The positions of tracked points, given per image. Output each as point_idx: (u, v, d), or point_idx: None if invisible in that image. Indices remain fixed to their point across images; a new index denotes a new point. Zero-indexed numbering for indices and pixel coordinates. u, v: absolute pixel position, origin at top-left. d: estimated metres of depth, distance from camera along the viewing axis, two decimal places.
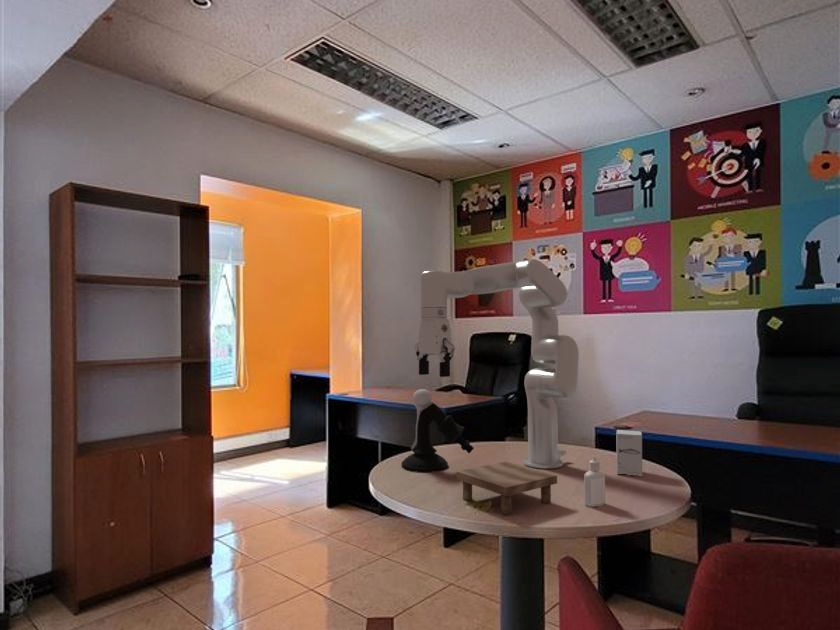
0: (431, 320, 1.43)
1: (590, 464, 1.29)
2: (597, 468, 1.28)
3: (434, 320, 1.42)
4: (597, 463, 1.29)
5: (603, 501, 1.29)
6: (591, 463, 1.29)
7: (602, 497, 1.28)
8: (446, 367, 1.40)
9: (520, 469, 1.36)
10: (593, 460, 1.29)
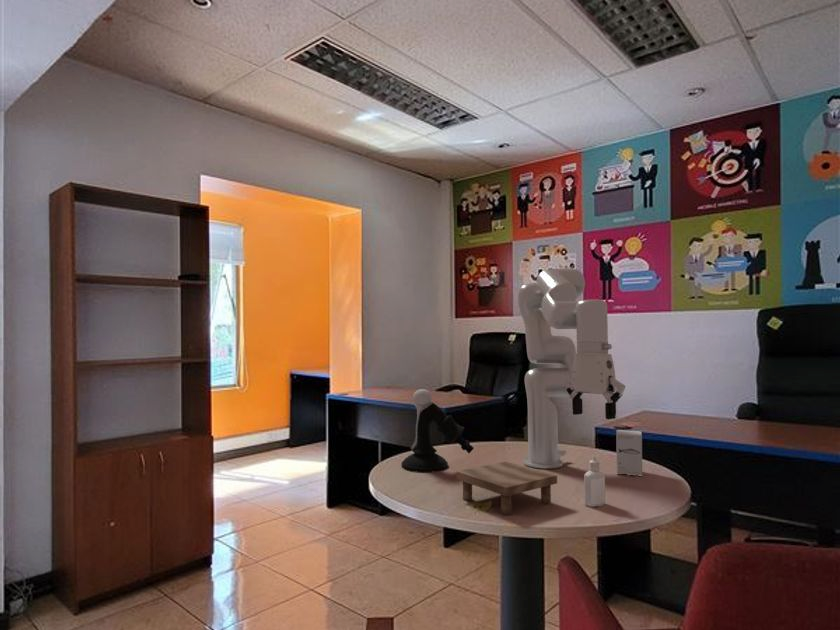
0: (593, 355, 1.28)
1: (590, 464, 1.29)
2: (597, 468, 1.28)
3: (597, 355, 1.27)
4: (597, 463, 1.29)
5: (603, 501, 1.29)
6: (591, 463, 1.29)
7: (602, 497, 1.28)
8: (613, 408, 1.25)
9: (520, 469, 1.36)
10: (593, 460, 1.29)
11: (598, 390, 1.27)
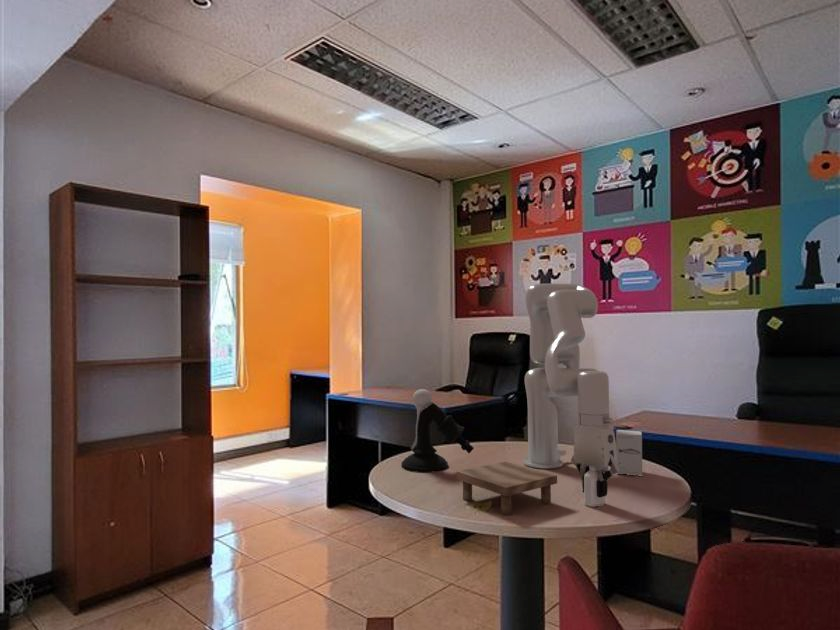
0: (594, 429, 1.27)
1: None
2: None
3: (599, 429, 1.26)
4: None
5: (603, 501, 1.29)
6: None
7: (602, 497, 1.28)
8: (604, 486, 1.27)
9: (520, 469, 1.36)
10: None
11: (599, 465, 1.26)
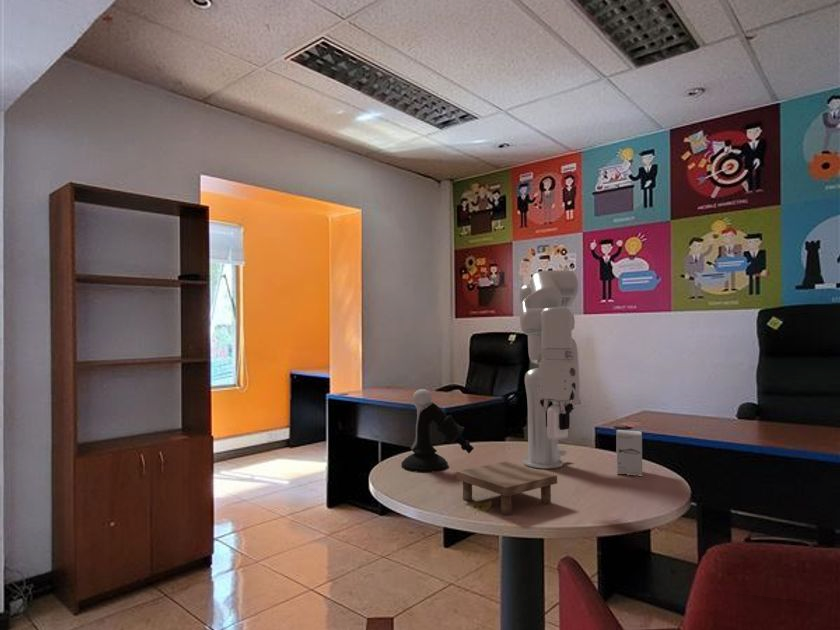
0: (557, 363, 1.29)
1: None
2: None
3: (561, 363, 1.28)
4: None
5: (566, 434, 1.31)
6: None
7: (564, 430, 1.30)
8: (567, 419, 1.29)
9: (520, 469, 1.36)
10: None
11: (561, 397, 1.28)
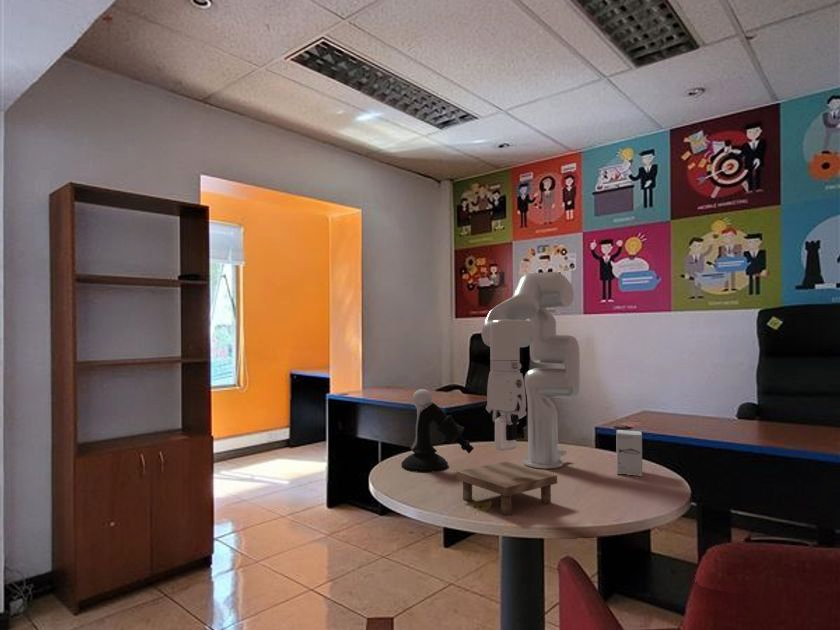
0: (504, 374, 1.30)
1: None
2: None
3: (507, 374, 1.30)
4: None
5: (513, 445, 1.32)
6: None
7: (511, 441, 1.31)
8: (513, 430, 1.30)
9: (520, 469, 1.36)
10: None
11: (508, 408, 1.29)
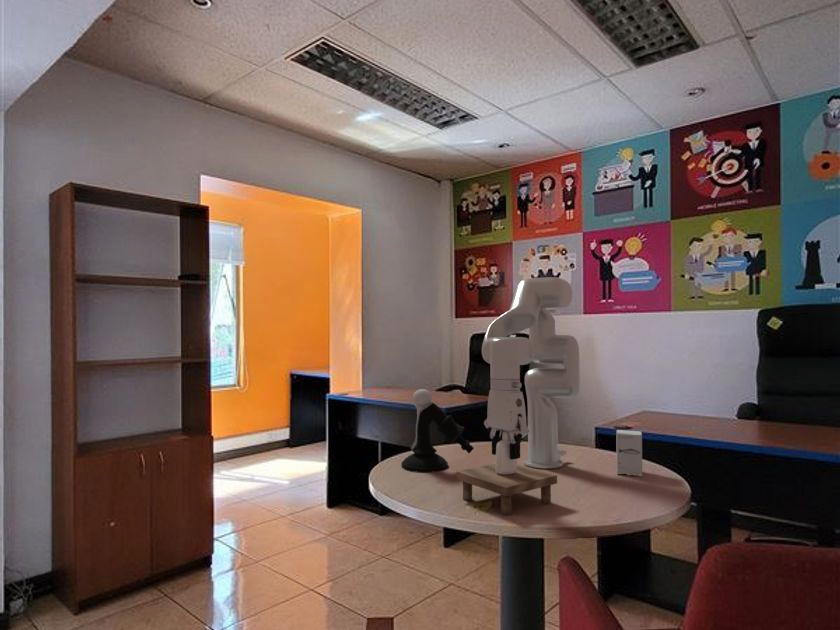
0: (504, 393, 1.30)
1: (503, 434, 1.32)
2: (509, 437, 1.32)
3: (508, 394, 1.29)
4: None
5: (514, 470, 1.32)
6: (504, 432, 1.32)
7: (512, 465, 1.31)
8: (517, 449, 1.29)
9: (520, 469, 1.36)
10: None
11: (508, 428, 1.29)
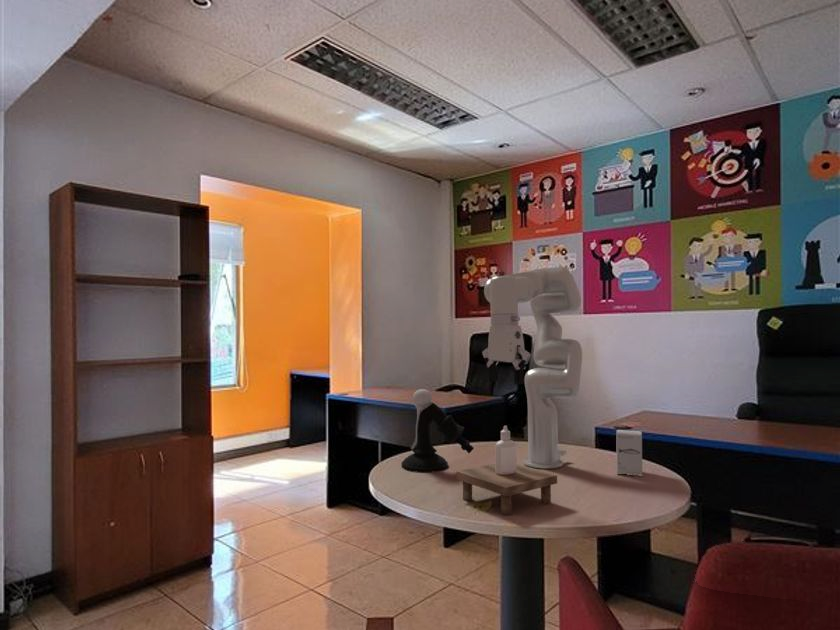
0: (503, 327, 1.40)
1: (501, 434, 1.33)
2: (507, 437, 1.32)
3: (507, 327, 1.39)
4: (507, 432, 1.32)
5: (513, 469, 1.32)
6: (502, 432, 1.32)
7: (512, 465, 1.32)
8: (521, 375, 1.38)
9: (520, 469, 1.36)
10: (504, 430, 1.33)
11: (508, 358, 1.39)
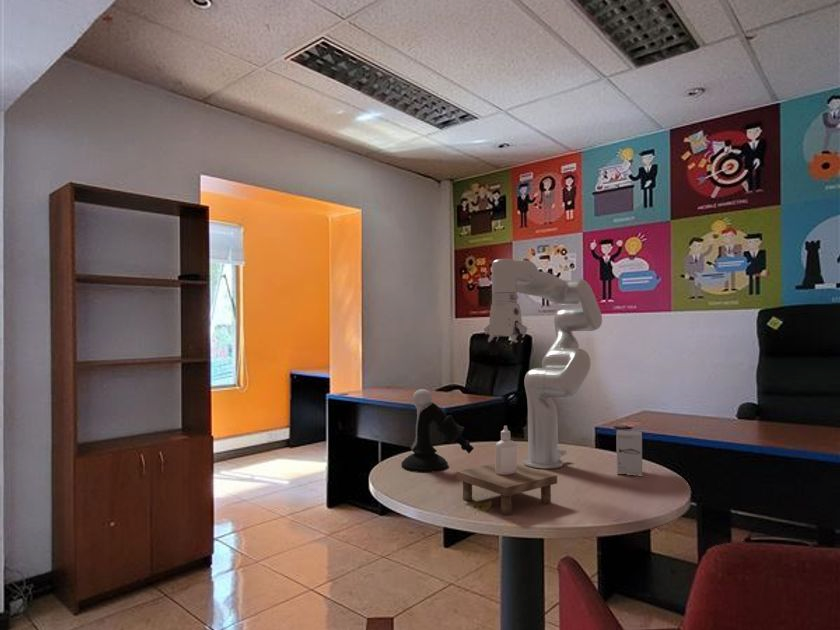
0: (503, 304, 1.55)
1: (501, 434, 1.33)
2: (508, 437, 1.32)
3: (506, 304, 1.54)
4: (508, 432, 1.32)
5: (513, 469, 1.32)
6: (502, 433, 1.32)
7: (512, 465, 1.32)
8: (518, 347, 1.53)
9: (520, 469, 1.36)
10: (504, 430, 1.33)
11: (507, 333, 1.54)
